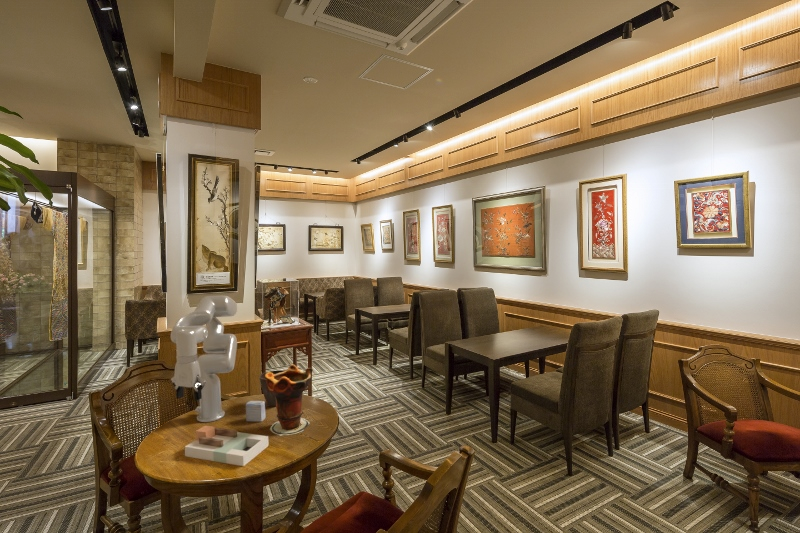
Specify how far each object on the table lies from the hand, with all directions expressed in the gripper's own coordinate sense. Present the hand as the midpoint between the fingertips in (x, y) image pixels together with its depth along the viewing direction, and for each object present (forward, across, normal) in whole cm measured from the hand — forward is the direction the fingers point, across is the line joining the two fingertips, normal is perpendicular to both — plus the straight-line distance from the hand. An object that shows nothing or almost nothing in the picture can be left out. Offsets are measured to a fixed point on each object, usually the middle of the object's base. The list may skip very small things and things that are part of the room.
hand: (189, 398), depth 167 cm
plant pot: (+20, +10, +47) cm, 52 cm away
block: (+16, +8, 0) cm, 18 cm away
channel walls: (+16, +14, 0) cm, 22 cm away
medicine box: (+21, +12, +28) cm, 37 cm away
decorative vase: (+21, +32, +26) cm, 46 cm away
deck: (+20, +19, 0) cm, 28 cm away
